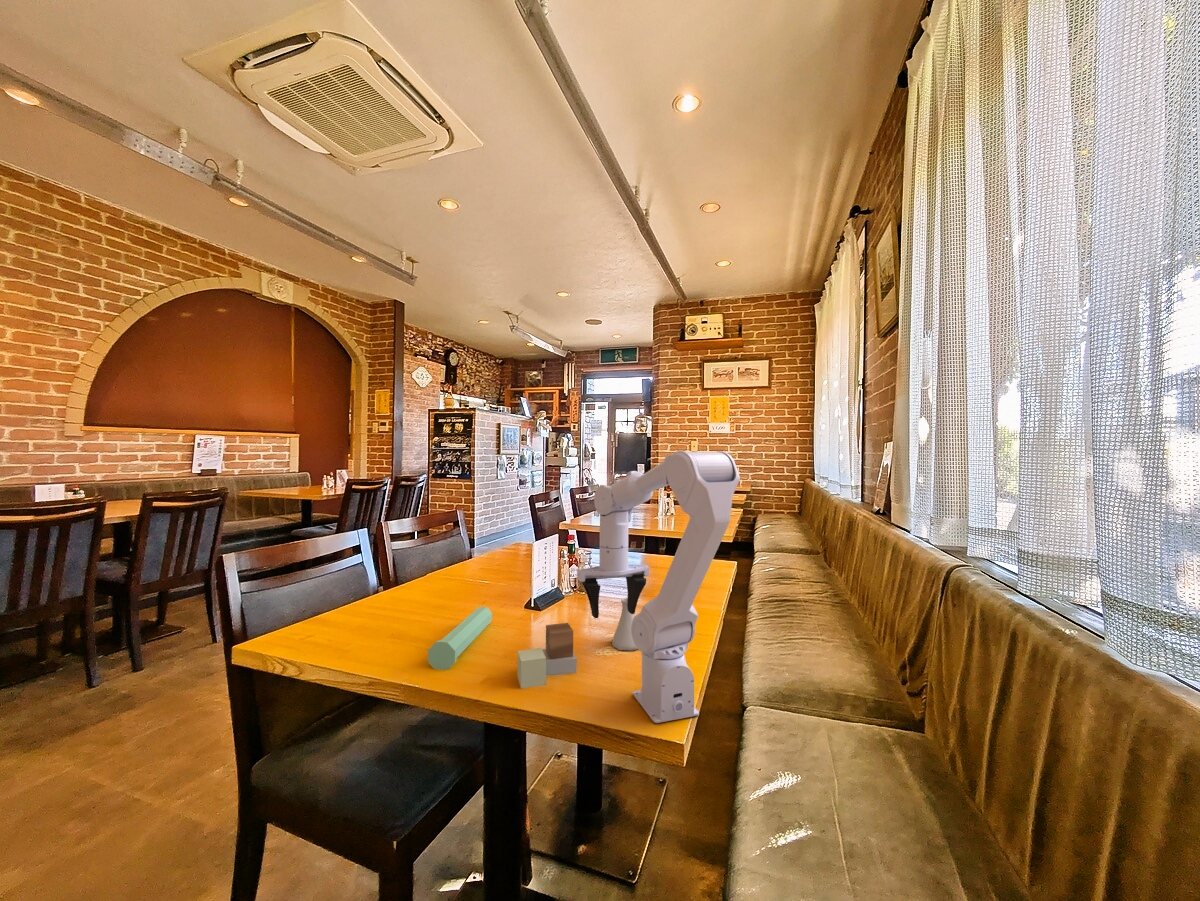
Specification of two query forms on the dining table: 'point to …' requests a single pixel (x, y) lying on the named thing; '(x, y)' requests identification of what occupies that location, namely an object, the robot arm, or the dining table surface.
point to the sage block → (531, 668)
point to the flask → (624, 630)
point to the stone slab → (560, 665)
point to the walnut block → (559, 641)
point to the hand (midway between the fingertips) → (613, 614)
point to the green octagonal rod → (458, 639)
